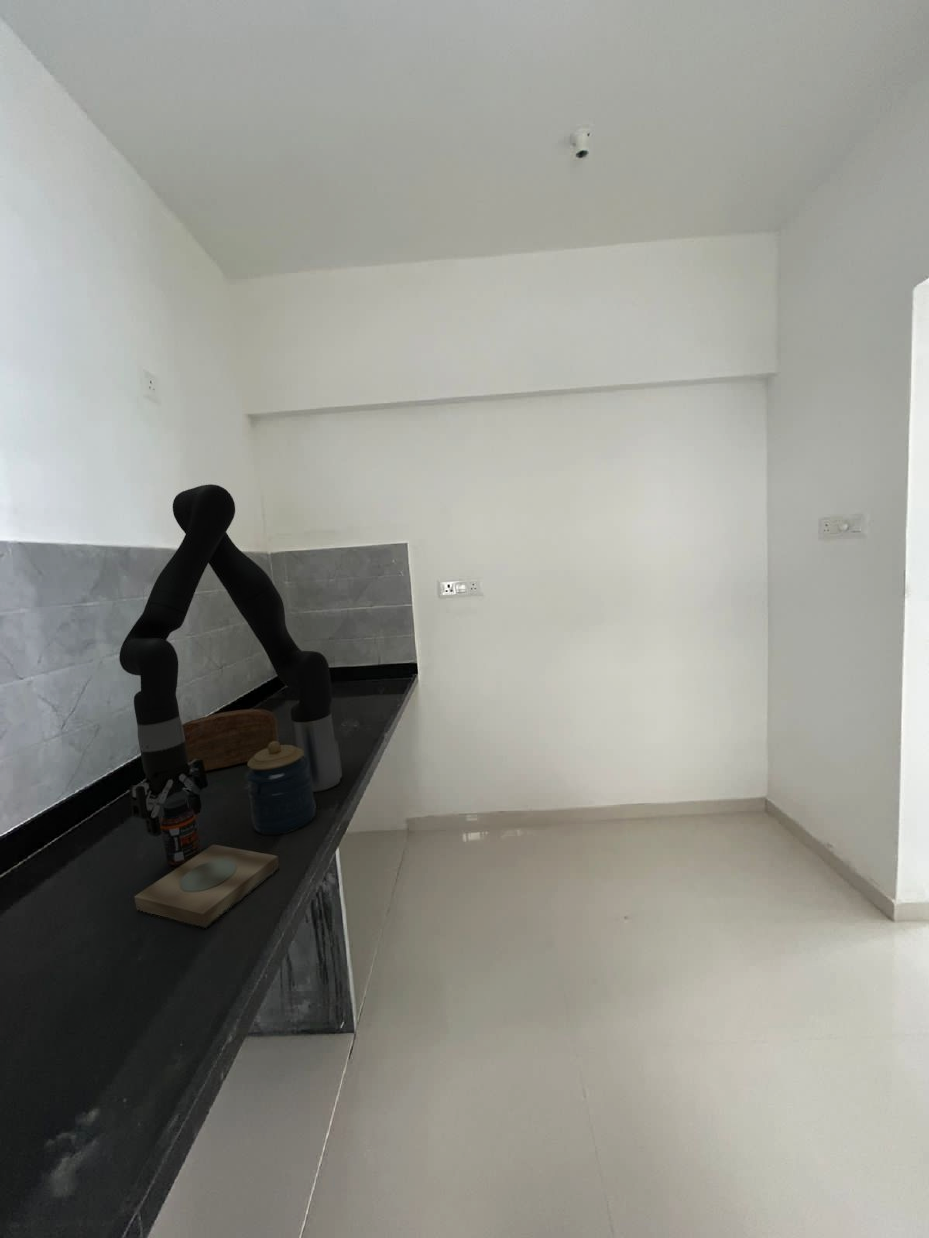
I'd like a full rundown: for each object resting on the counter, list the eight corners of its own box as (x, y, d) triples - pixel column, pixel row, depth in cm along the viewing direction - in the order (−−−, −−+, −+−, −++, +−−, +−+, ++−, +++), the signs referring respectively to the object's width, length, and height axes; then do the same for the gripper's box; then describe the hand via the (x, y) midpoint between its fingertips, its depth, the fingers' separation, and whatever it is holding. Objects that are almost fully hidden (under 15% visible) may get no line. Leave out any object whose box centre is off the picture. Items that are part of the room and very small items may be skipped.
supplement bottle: (187, 867, 102) (176, 810, 100) (160, 866, 103) (149, 810, 101) (208, 849, 108) (198, 795, 106) (182, 849, 109) (172, 795, 107)
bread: (282, 758, 154) (274, 709, 152) (173, 782, 145) (163, 730, 143) (281, 745, 166) (274, 699, 164) (179, 766, 156) (170, 718, 154)
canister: (242, 825, 116) (229, 746, 114) (297, 800, 126) (285, 727, 123) (272, 843, 107) (258, 758, 105) (328, 815, 117) (317, 736, 114)
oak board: (215, 856, 105) (213, 843, 104) (279, 868, 98) (277, 854, 98) (136, 910, 90) (134, 895, 90) (205, 928, 84) (202, 912, 83)
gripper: (140, 758, 94) (155, 845, 96) (208, 730, 107) (220, 808, 109) (112, 755, 97) (127, 840, 99) (181, 729, 110) (194, 804, 112)
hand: (176, 823), depth 104 cm, fingers open, 8 cm apart
